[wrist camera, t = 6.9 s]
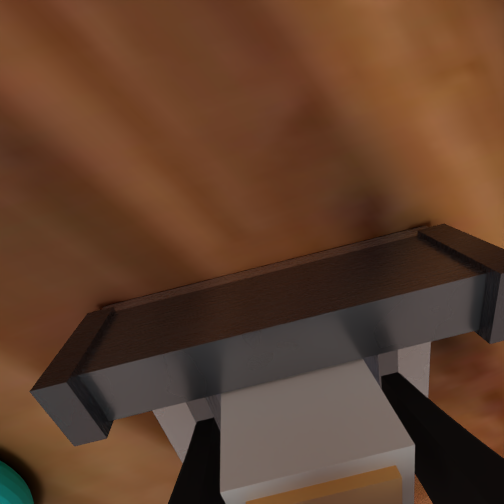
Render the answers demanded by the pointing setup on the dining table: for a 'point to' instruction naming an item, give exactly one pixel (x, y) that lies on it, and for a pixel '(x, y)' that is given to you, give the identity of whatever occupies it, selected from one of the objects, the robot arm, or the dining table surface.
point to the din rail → (274, 330)
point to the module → (315, 441)
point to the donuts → (13, 487)
